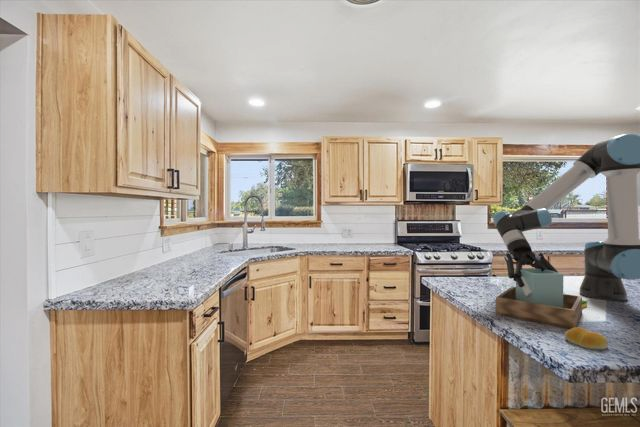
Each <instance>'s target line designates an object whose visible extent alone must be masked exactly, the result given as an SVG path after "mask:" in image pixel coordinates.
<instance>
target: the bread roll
mask: <svg viewBox="0 0 640 427" xmlns="http://www.w3.org/2000/svg"><path fill="white" fill-rule="evenodd" d="M564 338H566V340H567V341H568V342H569V343H571V344H574V345H577V346H579V347H581V348H584V349H589V350H600V351H602V350H606V349H607V348H608V344H609V341H608V340H607V338H606V337H605V336H604V335H603V334H600V333H597V332H593V331H589V329H588V330H587V329H586V328H583V327H579V326H576V327H574V328H571V329H567V331H565V333H564Z"/></svg>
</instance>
